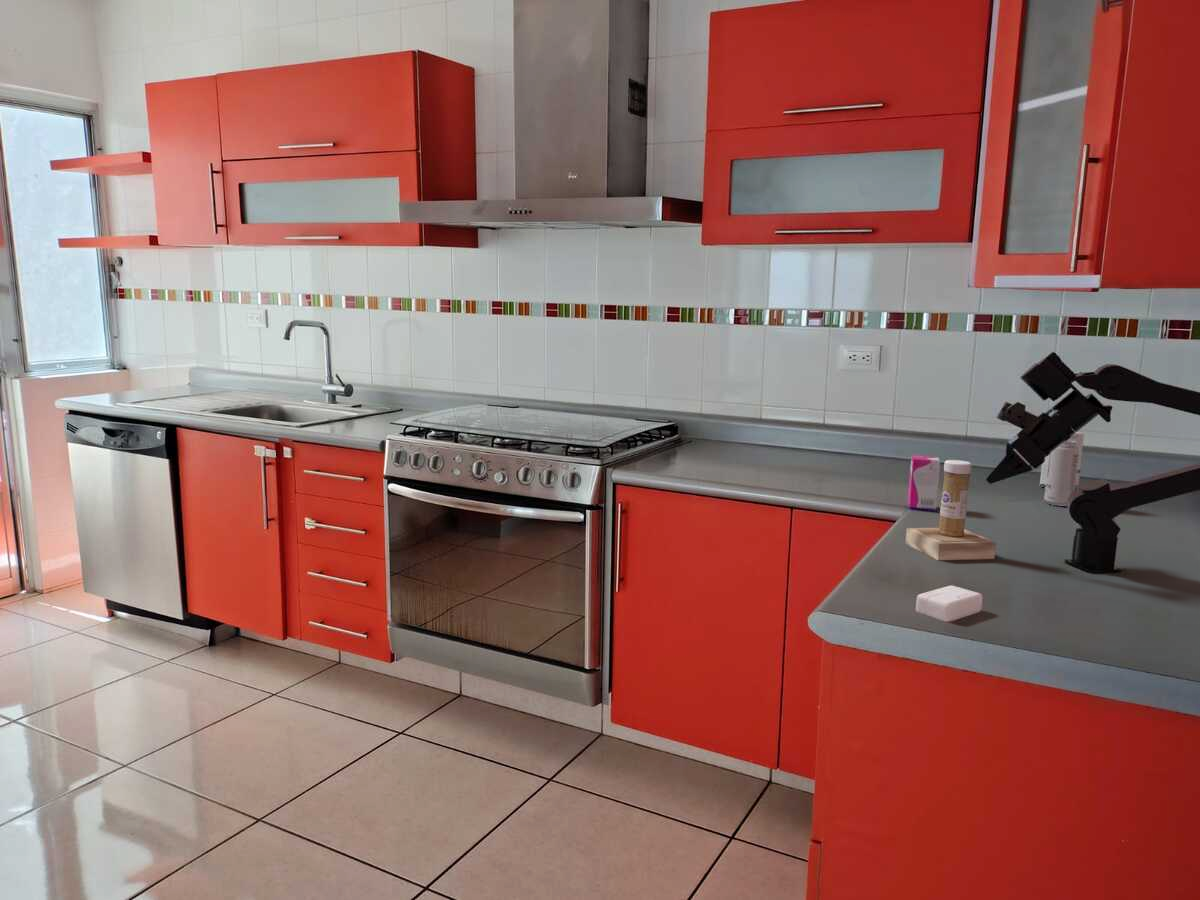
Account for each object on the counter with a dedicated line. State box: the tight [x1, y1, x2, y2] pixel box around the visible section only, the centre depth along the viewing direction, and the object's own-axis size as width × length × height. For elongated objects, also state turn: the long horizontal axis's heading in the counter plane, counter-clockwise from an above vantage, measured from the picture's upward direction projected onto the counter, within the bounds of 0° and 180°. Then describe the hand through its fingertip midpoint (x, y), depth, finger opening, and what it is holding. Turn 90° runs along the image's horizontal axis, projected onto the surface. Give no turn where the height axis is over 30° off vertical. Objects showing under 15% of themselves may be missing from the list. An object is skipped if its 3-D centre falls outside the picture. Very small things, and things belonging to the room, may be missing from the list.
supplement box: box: [907, 455, 941, 512], centre depth 199 cm, size 6×6×12 cm
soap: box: [915, 585, 983, 623], centre depth 129 cm, size 9×6×3 cm, turn 127°
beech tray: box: [904, 527, 997, 561], centre depth 162 cm, size 11×11×3 cm
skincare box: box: [1039, 431, 1085, 486], centre depth 227 cm, size 8×6×15 cm
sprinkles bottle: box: [938, 459, 972, 537], centre depth 161 cm, size 5×5×14 cm
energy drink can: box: [1043, 440, 1079, 504], centre depth 207 cm, size 6×6×15 cm
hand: (989, 479), depth 159 cm, fingers open, 9 cm apart
